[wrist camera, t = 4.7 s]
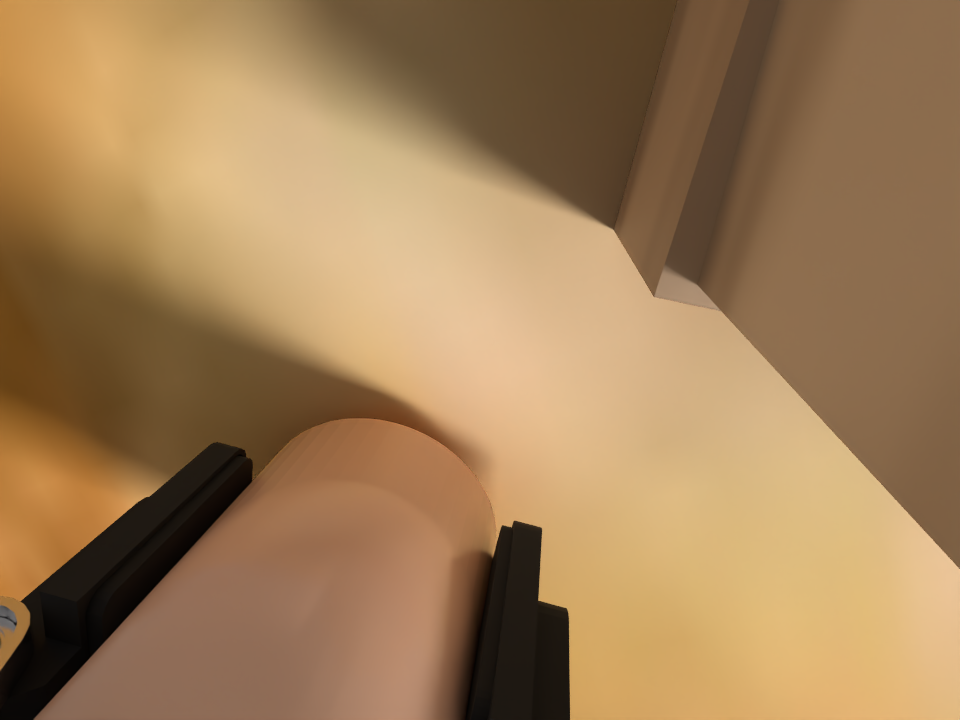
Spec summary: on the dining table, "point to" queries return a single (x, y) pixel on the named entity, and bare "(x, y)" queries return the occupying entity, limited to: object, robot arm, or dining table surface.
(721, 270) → the tower top
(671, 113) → the tower base
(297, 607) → the pink rounded capsule
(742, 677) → the dining table surface
